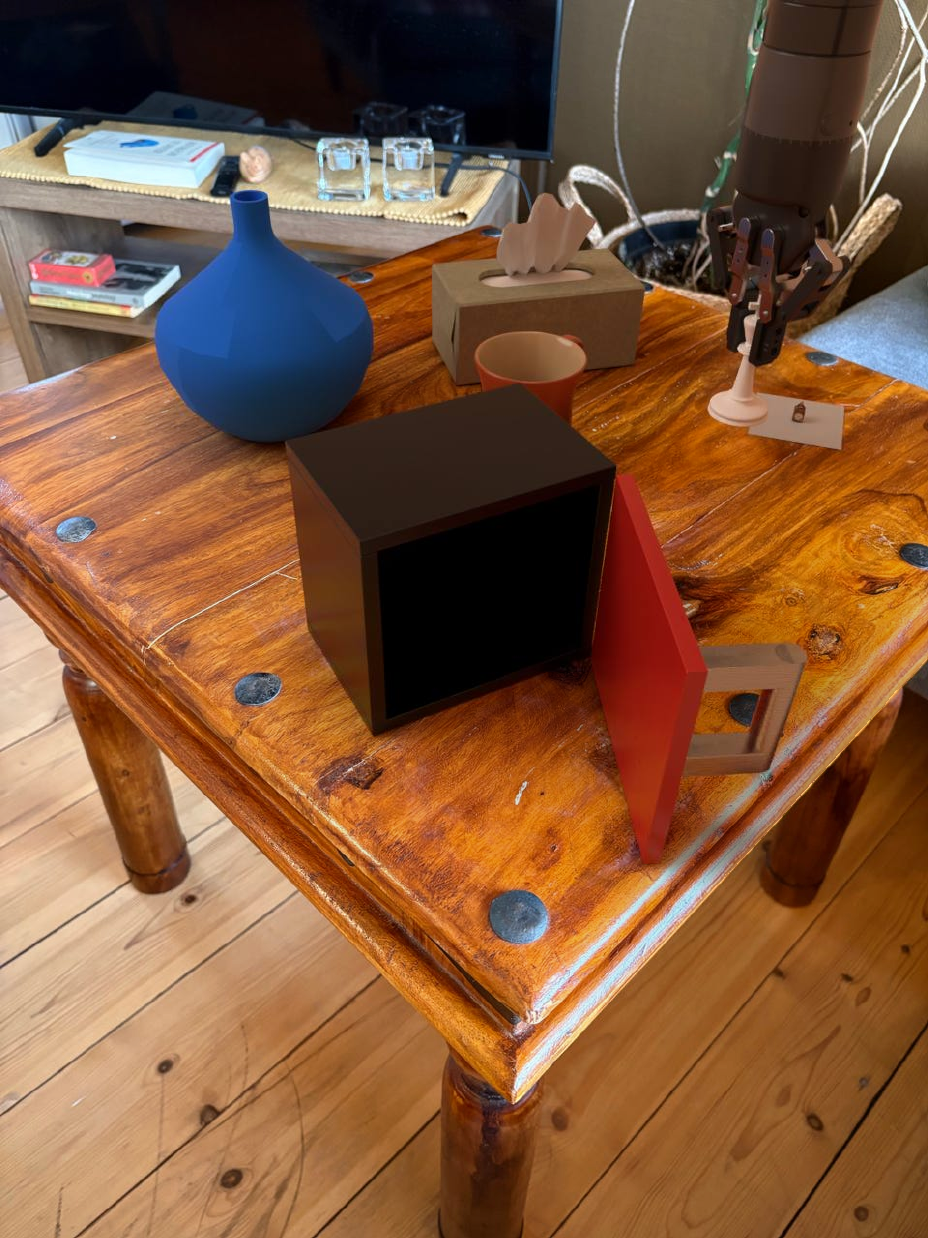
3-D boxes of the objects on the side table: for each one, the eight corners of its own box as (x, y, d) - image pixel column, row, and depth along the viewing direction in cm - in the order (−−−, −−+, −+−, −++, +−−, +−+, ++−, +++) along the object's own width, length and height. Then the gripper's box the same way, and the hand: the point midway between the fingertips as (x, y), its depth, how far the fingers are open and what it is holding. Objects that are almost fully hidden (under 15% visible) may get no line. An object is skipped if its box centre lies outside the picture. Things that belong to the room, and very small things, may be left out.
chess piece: (773, 427, 80) (802, 309, 74) (713, 426, 80) (736, 308, 74) (760, 398, 84) (787, 283, 77) (702, 397, 84) (724, 282, 77)
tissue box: (453, 386, 94) (454, 216, 83) (429, 341, 101) (427, 179, 90) (638, 365, 98) (661, 200, 87) (602, 322, 105) (620, 165, 94)
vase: (402, 448, 86) (396, 224, 73) (188, 486, 81) (141, 253, 68) (347, 354, 98) (334, 150, 86) (159, 382, 94) (115, 170, 81)
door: (690, 656, 66) (733, 470, 57) (764, 856, 54) (834, 665, 45) (590, 660, 66) (615, 474, 56) (642, 864, 54) (687, 672, 44)
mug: (539, 510, 79) (549, 394, 72) (451, 473, 83) (452, 360, 76) (612, 446, 86) (627, 335, 80) (528, 415, 90) (535, 307, 83)
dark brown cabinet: (591, 655, 67) (617, 465, 57) (372, 737, 61) (359, 541, 51) (509, 564, 74) (520, 381, 64) (307, 629, 68) (284, 440, 58)
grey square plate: (748, 433, 88) (752, 415, 87) (756, 392, 94) (761, 374, 93) (841, 449, 86) (846, 431, 85) (844, 406, 92) (849, 388, 91)
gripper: (917, 139, 64) (847, 383, 76) (773, 91, 73) (730, 314, 85) (831, 154, 62) (771, 404, 73) (692, 102, 71) (659, 331, 82)
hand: (749, 355), depth 79 cm, fingers closed on chess piece
